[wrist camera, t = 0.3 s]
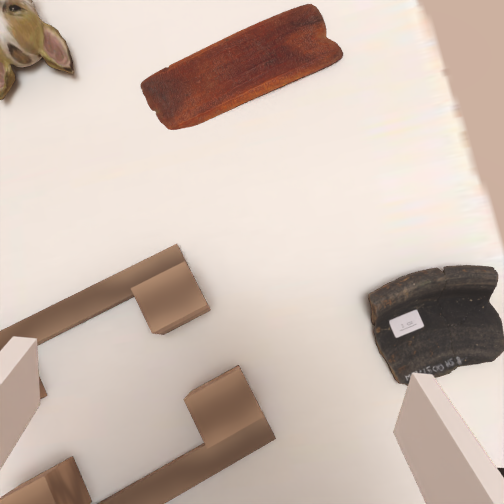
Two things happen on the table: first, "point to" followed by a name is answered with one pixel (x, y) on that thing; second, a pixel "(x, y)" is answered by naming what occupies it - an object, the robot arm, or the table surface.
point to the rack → (198, 401)
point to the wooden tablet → (241, 68)
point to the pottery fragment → (437, 321)
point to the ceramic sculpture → (27, 42)
